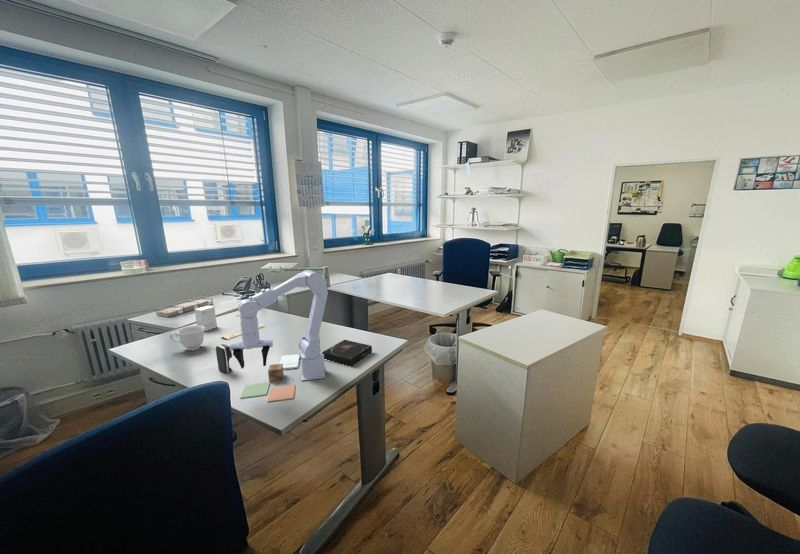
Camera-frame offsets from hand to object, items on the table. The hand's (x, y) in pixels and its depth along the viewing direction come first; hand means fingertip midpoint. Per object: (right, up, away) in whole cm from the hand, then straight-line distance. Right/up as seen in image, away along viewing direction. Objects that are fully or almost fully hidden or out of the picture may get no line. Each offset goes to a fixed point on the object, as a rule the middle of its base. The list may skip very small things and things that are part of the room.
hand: (253, 366), depth 120 cm
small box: (-58, +3, +68) cm, 90 cm away
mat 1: (-1, -10, +3) cm, 11 cm away
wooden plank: (-35, +1, +63) cm, 72 cm away
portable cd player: (+30, -5, +32) cm, 44 cm away
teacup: (-51, -3, +41) cm, 65 cm away
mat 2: (+10, -11, 0) cm, 15 cm away
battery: (-20, -7, +19) cm, 29 cm away
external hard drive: (+5, -6, +25) cm, 26 cm away
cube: (+4, -8, +12) cm, 15 cm away
